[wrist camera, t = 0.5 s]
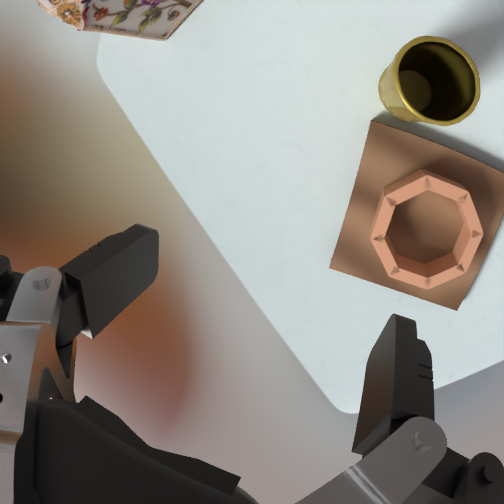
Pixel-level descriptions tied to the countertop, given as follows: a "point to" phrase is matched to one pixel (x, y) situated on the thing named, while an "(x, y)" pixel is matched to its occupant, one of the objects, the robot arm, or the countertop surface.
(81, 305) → the robot arm
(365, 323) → the countertop surface
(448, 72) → the vase
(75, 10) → the decorative jar
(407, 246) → the board
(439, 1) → the countertop surface
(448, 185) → the holder ring
